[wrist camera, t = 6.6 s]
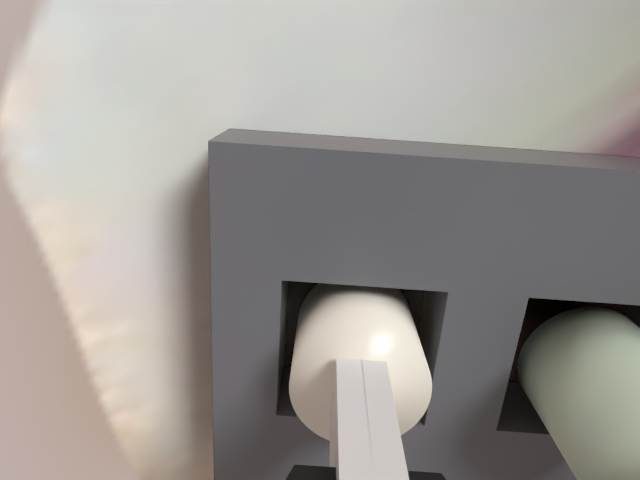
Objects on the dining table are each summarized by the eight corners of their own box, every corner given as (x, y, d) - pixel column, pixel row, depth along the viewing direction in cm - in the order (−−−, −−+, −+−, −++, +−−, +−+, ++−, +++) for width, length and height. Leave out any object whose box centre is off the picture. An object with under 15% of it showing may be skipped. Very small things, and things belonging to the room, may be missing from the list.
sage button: (532, 302, 16) (593, 374, 12) (661, 311, 16) (762, 386, 12) (505, 407, 17) (553, 500, 14) (623, 415, 17) (703, 510, 14)
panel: (229, 128, 16) (208, 141, 14) (968, 180, 16) (1099, 203, 14) (230, 442, 21) (214, 499, 18) (800, 482, 21) (872, 545, 18)
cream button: (300, 267, 17) (292, 322, 14) (418, 276, 17) (442, 333, 14) (295, 367, 19) (286, 441, 15) (403, 374, 19) (421, 451, 15)
